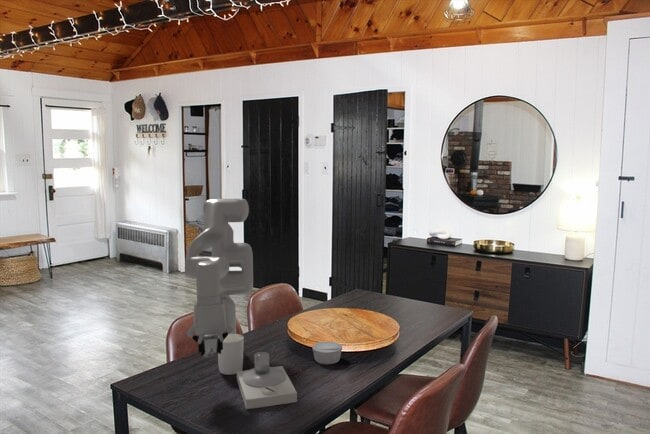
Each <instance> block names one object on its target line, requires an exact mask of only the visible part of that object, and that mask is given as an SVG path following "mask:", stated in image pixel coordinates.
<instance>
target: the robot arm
mask: <svg viewBox="0 0 650 434" xmlns="http://www.w3.org/2000/svg"><path fill="white" fill-rule="evenodd" d="M202 205H203V207H202V208H203V214H204V219H203V228H202V232H201V233H199V234H198V235H197V236H196V237H195V238H193V240H192V241H191V242H190V243H189V245H188V247H187V250H186V254H185V262H184V272H185V275H186V277H187V278H189V279H195V280H196V282H195V283H196V302H195V303H194V307H193V324H192V325H191V326H190V327H189V329H188V330H187V332H186V337H189V338H190V339H192V340H193V341H194V342H195V343H197V347H198V349H197V350H198V353H199V354H200V356H203V336H205V335H210V334H216V335H218V336H219V338H218V351H219V354H221V350H223V341H224V339H225V338H226V337H227V336H228V334H232V333H234V334H237V320H236V317H237V313H236V312H237V311H236V308H237V307H236V304H235V301H234V300H233V298H232V297H231V296H240V295H244V296H245V295H249V294H251V293H252V291H253V289H254V288H253V287H254V256H253V250H252V247H251V245H250V244H249V243H246V242H234V229H233V228H232V226H231V224H230V223H243V222H245V221H246V220H247V218H248V216H249V213H250V207H249V203H248V201H247V199H245V198H211V199H207V200H206V201H204V202H203V204H202ZM210 248H211V255H199V254H200V253H202V252H203V251H205V250H207V249H210ZM230 268H241V270H230ZM193 332H194V333H193ZM203 357H204V356H203Z"/></svg>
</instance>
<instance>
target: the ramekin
mask: <svg viewBox="0 0 650 434" xmlns="http://www.w3.org/2000/svg"><path fill="white" fill-rule="evenodd" d="M342 350H343V346H342V345H341V344H340V343H339V342H336V341H335V342H334V341H318V342H316V343H315V344H313V346H312V352H313V357H314V360H315V361H316V362H317V363H318V364H321V365H333V364H336V363H338V362H339V361H340V359H341V355H342Z"/></svg>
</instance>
